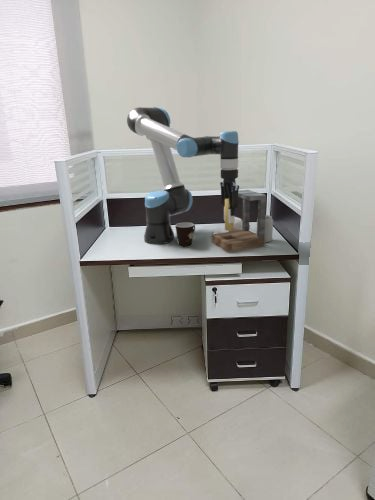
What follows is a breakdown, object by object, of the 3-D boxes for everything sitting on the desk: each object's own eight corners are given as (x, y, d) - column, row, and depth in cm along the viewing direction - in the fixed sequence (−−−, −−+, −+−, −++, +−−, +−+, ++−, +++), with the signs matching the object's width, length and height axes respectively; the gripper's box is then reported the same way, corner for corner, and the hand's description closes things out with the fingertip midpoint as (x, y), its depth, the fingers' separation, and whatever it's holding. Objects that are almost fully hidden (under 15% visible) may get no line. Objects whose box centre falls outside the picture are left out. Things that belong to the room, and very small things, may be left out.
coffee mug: (181, 249, 159) (180, 228, 156) (173, 244, 167) (172, 224, 163) (203, 244, 164) (202, 224, 161) (194, 240, 172) (193, 220, 168)
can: (272, 243, 163) (273, 218, 159) (256, 242, 165) (256, 218, 161) (271, 238, 170) (273, 214, 166) (256, 237, 171) (257, 214, 167)
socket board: (211, 242, 167) (211, 193, 159) (246, 236, 174) (247, 189, 166) (227, 252, 153) (227, 199, 145) (264, 246, 160) (266, 195, 152)
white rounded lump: (226, 233, 173) (250, 235, 174) (228, 215, 173) (252, 217, 173) (224, 234, 182) (246, 236, 182) (225, 216, 182) (248, 218, 182)
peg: (223, 228, 160) (223, 198, 156) (231, 227, 162) (231, 197, 157) (227, 231, 157) (227, 200, 152) (235, 229, 158) (235, 199, 153)
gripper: (246, 170, 144) (246, 224, 152) (227, 166, 159) (228, 216, 167) (230, 171, 141) (230, 226, 149) (213, 167, 156) (213, 218, 164)
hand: (229, 221), depth 158 cm, fingers closed on peg, 4 cm apart
